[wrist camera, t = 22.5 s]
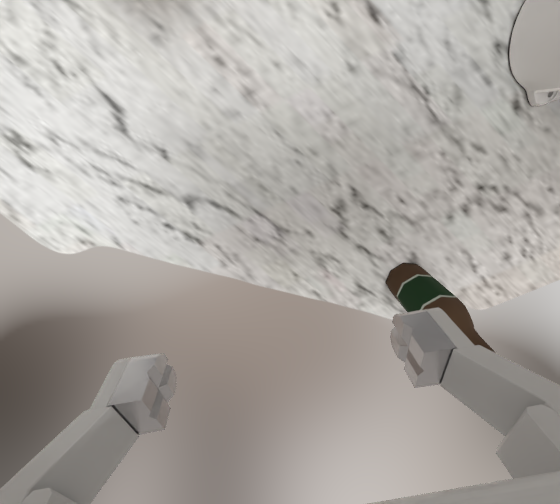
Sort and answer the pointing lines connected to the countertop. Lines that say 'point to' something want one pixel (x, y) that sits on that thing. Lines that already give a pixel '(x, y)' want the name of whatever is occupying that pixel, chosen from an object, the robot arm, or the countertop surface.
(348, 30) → the countertop surface
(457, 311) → the beer bottle
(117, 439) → the robot arm
